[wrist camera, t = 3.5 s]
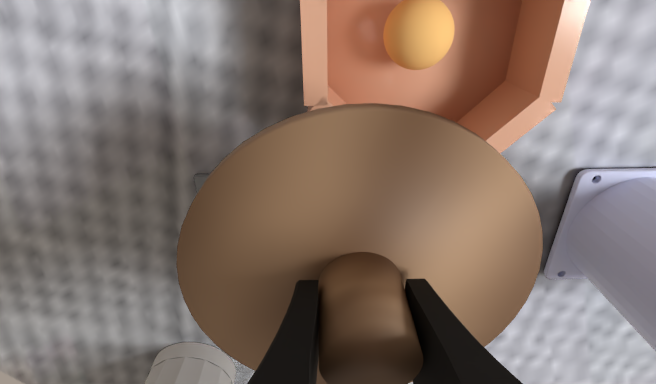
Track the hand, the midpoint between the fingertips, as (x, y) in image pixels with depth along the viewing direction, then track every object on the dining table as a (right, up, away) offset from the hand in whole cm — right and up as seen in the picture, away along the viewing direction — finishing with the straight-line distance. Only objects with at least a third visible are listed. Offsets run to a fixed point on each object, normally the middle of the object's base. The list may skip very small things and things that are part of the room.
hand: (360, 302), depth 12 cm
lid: (0, +1, +1) cm, 1 cm away
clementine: (+3, +11, +4) cm, 12 cm away
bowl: (+3, +11, +6) cm, 13 cm away
